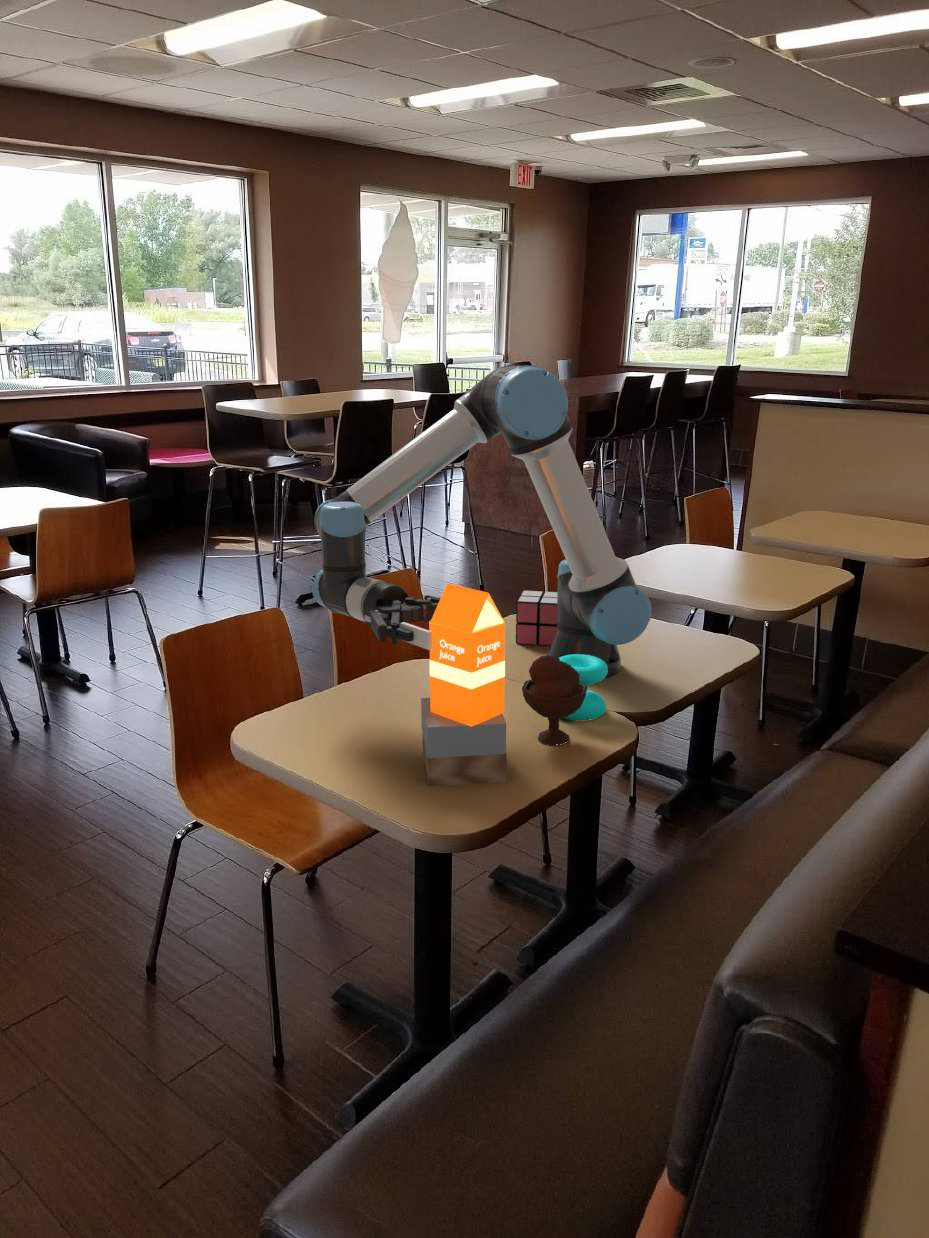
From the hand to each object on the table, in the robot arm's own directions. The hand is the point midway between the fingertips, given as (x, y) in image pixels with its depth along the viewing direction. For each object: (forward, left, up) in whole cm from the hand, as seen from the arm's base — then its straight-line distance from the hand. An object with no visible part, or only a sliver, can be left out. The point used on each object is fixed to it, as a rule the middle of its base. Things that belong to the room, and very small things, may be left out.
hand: (464, 631), depth 142 cm
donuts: (-23, -20, -23) cm, 38 cm away
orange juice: (0, +1, -13) cm, 13 cm away
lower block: (0, 0, -23) cm, 23 cm away
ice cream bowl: (-16, -9, -23) cm, 29 cm away
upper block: (0, 0, -18) cm, 18 cm away
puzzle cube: (-25, -64, -23) cm, 72 cm away
